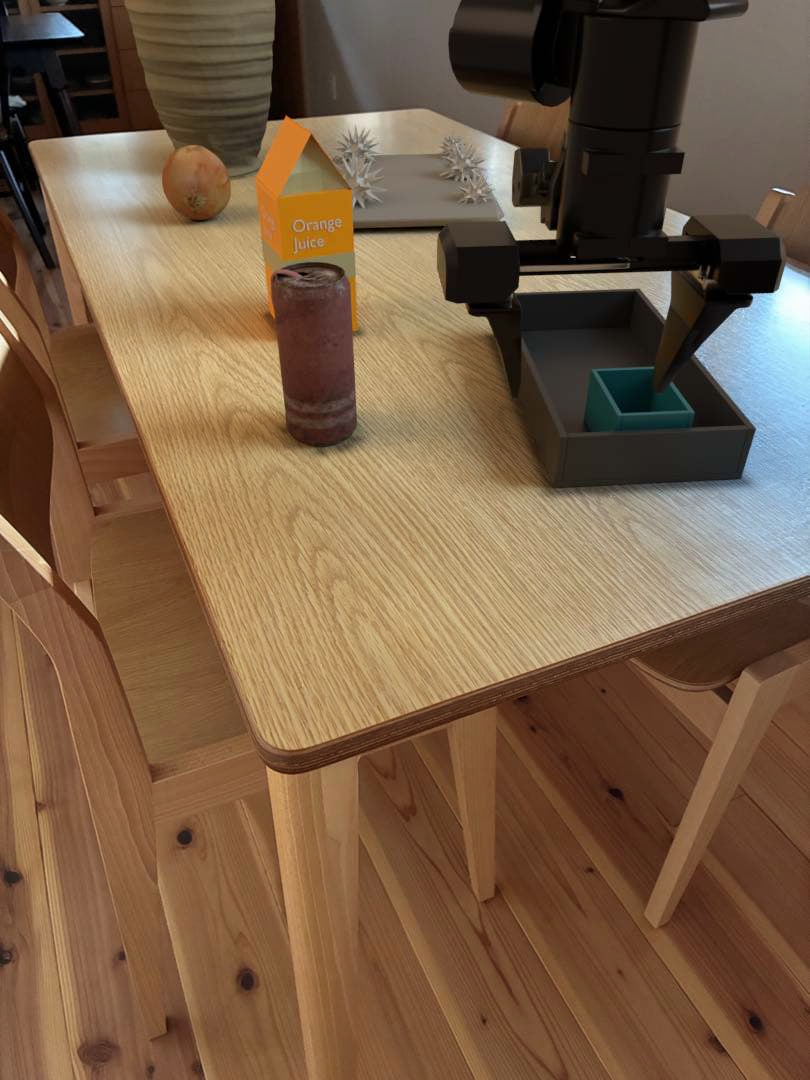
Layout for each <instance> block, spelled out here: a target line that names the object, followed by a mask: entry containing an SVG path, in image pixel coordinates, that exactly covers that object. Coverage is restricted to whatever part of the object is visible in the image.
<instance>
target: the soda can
mask: <svg viewBox="0 0 810 1080" xmlns="http://www.w3.org/2000/svg"><path fill="white" fill-rule="evenodd" d="M270 281H271V299H272V304H273V308H274V314H275V319H274V321H275V322H274V323H275V331H276V340H277V348H278V359H279V367H280V378H281V384H282V385H281V386H282V394H283V404H284V413H285V422H286V423H285V424H286V428H287V431H288V433H289V435H291V437H292V438H293V439H295V440H296V441H297V442H298V443H301V444H303V445H306V446H311V447H330V446H336V445H337V444H340V443H343V442H345V441H346V440H348V439H350V437H351V436H352V435H353V433H354V432H355V430H356V429H357V427H358V412H357V395H356V393H357V391H356V373H355V369H356V368H355V352H354V351H355V350H354V332H353V328H352V307H351V286H350V281H349V280H348V278H347V276H346V274H345V271H344V269H343V268H341V267H339V266H337V265H334V264H330V263H323V262H304V263H297V264H292V265H288V266H286V267H284V268H281V269H277V270H276V271H275V272H273V273H272V276H271V278H270Z"/></svg>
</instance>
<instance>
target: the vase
mask: <svg viewBox="0 0 810 1080" xmlns="http://www.w3.org/2000/svg"><path fill="white" fill-rule="evenodd" d="M123 1H124V7H125V8H126V10H127V14H128V18H129V22H130V24H131V27H132V32H133V37H134V40H135V45H136V51H137V52H136V53H137V56H138V58H139V60H140V62H141V66H142V68H143V72H144V80H145V85H146V88H147V90H148V92H149V94H150V95H149V96H150V98H151V101H152V106H153V107H154V109H155V111H156V112H157V116H158V119H159V121H160V122H161V124H162V126H163V128H164V130H165V132H166V134H167V136H168V137H169V140H170V141H171V143H172V145H173V149H174V151H175V150H177V149H179V148H182V147H185V146H189V145H198V146H202V147H204V148H206V149H208V150H209V151H211V152H212V153H213V154H215V155H216V156H217V157H218V158H219V159H220V160H221V161H222V162H223V164H224V166H225V167H226V169H227V172H228V174H229V177H239V176H243V175H246V174H249V173H252V172H254V171H258V170H260V168H261V166H262V164H263V162H261V161H260V160H259V154H260V152H261V149H262V142H263V139H264V137H265V135H266V131H267V124H268V119H269V110H270V108H271V96H272V95H271V94H272V92H273V88H272V87H273V86H272V73H273V70H274V69H273V65H274V64H273V56H274V53H273V44H274V41H275V27H276V26H275V25H276V2H275V1H276V0H123Z"/></svg>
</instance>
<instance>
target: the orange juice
mask: <svg viewBox="0 0 810 1080" xmlns="http://www.w3.org/2000/svg"><path fill="white" fill-rule="evenodd" d="M331 160H332V159H331V158H330V157H329V156H328V154H327V153H326V152H325V150H324V149H323V147H322V145H320V143H319V141H318V140H317V139H316V137H315V136H314V135H313V133H312V132H311V130H309V129H307V128H306V127H304V126H303V125H301V124H300V123H298V122H297V121H295V120H294V119H293V118H290V117H289V116H288V115H286V114H285V117H284V119H283V121H282V123H281V125H280V127H279V129H278V132H277V133H276V136H275V138H274V140H273V141H272V144H271V145H270V148H269V150H268V152H267V154H266V156H265V158H264V159H263V162H262V165H261V167H260V168H259V169H258V171H257V174H256V176H254V181H255V182H254V183H255V192H256V201H257V209H258V215H259V225H260V235H261V236H260V241H261V247H262V258H263V262H264V271H265V280H266V288H267V299H268V306H269V314H270V315H271V316H272V318H273V319H274V320H275V314H274V308H273V304H272V299H271V281H270V278H271V276H272V273H273V272H275V271H276V270H277V269H281V268H284V267H286V266H288V265H292V264H297V263H304V262H323V263H330V264H334V265H337V266H339V267H341V268H343V269H344V271H345V274H346V276H347V278H348V280H349V281H350V286H351V307H352V328H353V333H354V332H358V330H359V328H358V308H357V305H358V304H357V286H356V283H357V282H356V275H357V274H356V254H355V253H356V252H355V239H354V238H355V236H354V228H353V212H352V189H351V188H350V187H349V185H348V184H347V182H346V181H345V180H344V178H343V177H342V175H341V174H340V173H339V171H338V170H337V168H336V167H335V166H334V164H333V163H332V161H331Z"/></svg>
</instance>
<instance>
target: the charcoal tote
mask: <svg viewBox="0 0 810 1080" xmlns="http://www.w3.org/2000/svg"><path fill="white" fill-rule="evenodd" d="M515 294H516V296H517V298H518V300H519V302H520V305H521V307H522V356H521V385H520V391H519V396H518V400H519V402H520V405H521V407H522V409H523V412H524V415H525V417H526V420H527V423H528V425H529V428H530V430H531V432H532V435H533V437H534V440H535V442H536V445H537V447H538V450H539V453H540V455H541V457H542V460H543V462H544V465H545V468H546V470H547V473H548V475H549V478H550V480H551V483H552V486H553V488H572V487H573V488H574V487H575V488H576V487H593V486H594V487H595V486H612V485H613V486H614V485H615V486H616V485H617V486H618V485H635V484H636V485H637V484H655V483H656V484H657V483H675V482H678V483H679V482H693V481H694V482H695V481H698V482H699V481H713V480H714V481H715V480H716V481H717V480H736V479H742V478H743V474H744V470H745V467H746V464H747V460H748V457H749V454H750V451H751V448H752V444H753V440H754V437H755V434H756V431H757V428H756V426H755V425H754V424H753V423H752V422H751V420H750V419H749V418H748V416H746V415H745V413H744V412H743V411H742V409H740V407H739V406H738V404H736V402H735V401H734V399H733V398H732V397H731V396H730V395H729V394H728V393H727V392H726V390H725V389H724V388H723V386H722V385H721V384H720V383H719V382H718V381H717V379H716V378H715V377H714V376H713V375H712V374H711V372H710V371H709V370H708V369H707V368H706V366H705V365H704V364H703V363H702V361H700V359H699V358H698V356H696V353H694V355H693V356H692V357H691V358H690V360H689V361H688V362H687V363H686V365H685V366H684V367H683V368H682V370H681V371H680V372H679V373H678V375H677V376H676V377H675V378H674V380H673V381H672V382H673V384H674V385H675V386H676V388H677V389H678V390H679V392H680V393H681V395H682V396H683V397H684V399H685V400H686V401H687V403H688V404H689V405H690V407H691V408H692V410H693V411H694V412H695V414H694V418H693V422H692V426H691V428H675V429H653V430H631V431H609V432H589V431H588V429H587V427H586V425H585V423H584V414H585V407H586V400H587V394H588V387H589V380H590V373H591V369H607V368H632V367H654V365H655V360H656V356H657V352H658V349H659V345H660V341H661V337H662V333H663V329H664V325H665V321H666V318H665V317H664V316H663V314H662V313H661V312H660V311H659V310H658V308H657V307H656V306H655V304H653V302H652V301H651V300H650V299H649V298H648V296H647V295H645V293H644V292H643V291H642V290H641V288H616V289H615V288H613V289H611V288H610V289H591V290H590V289H588V290H587V289H585V290H559V291H558V290H557V291H530V292H529V291H528V292H527V291H526V292H515ZM493 336H494V335H493ZM494 338H495V336H494Z"/></svg>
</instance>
